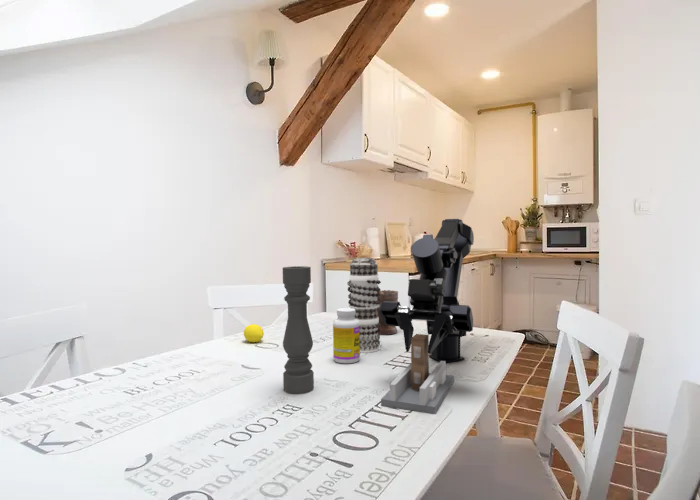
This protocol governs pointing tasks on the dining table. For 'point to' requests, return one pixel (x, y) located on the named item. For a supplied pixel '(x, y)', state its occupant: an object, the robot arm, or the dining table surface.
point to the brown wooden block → (419, 360)
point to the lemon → (253, 333)
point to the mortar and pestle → (384, 329)
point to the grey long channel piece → (419, 391)
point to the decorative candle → (365, 301)
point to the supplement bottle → (346, 336)
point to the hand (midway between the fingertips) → (418, 351)
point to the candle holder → (297, 331)
